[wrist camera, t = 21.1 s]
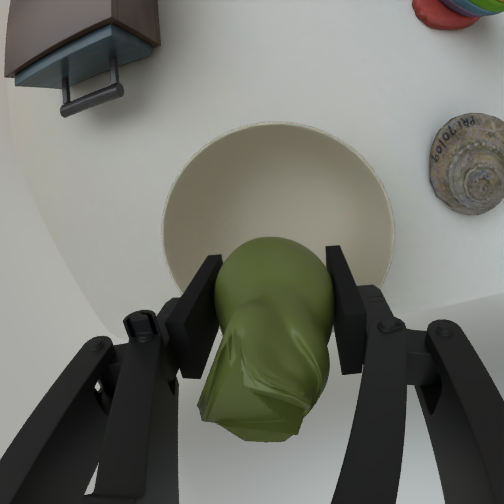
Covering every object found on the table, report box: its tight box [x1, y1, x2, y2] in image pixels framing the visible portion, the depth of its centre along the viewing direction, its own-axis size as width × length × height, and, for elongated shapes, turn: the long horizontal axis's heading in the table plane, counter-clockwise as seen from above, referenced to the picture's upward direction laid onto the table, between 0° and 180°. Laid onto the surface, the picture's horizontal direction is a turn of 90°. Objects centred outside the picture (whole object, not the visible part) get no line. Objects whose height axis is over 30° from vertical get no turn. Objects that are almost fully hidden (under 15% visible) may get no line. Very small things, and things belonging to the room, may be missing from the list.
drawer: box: [15, 24, 152, 118], centre depth 20 cm, size 18×12×8 cm, turn 7°
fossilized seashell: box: [430, 113, 504, 215], centre depth 23 cm, size 11×11×7 cm
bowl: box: [161, 122, 395, 333], centre depth 25 cm, size 16×16×10 cm
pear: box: [197, 237, 335, 442], centre depth 12 cm, size 6×5×10 cm
